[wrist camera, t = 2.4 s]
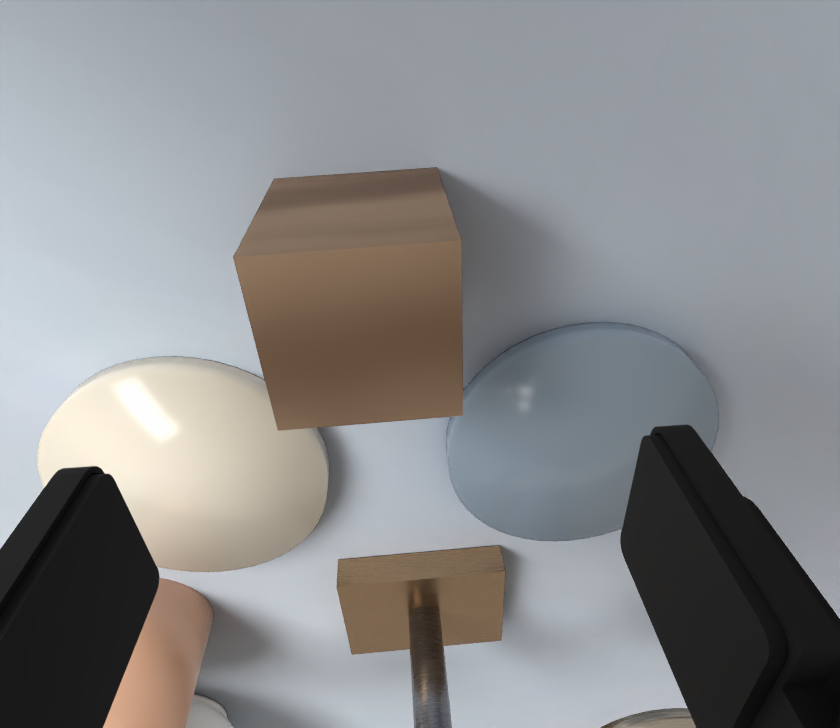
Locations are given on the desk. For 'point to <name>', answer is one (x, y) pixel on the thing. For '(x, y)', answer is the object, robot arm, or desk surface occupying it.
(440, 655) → the balance
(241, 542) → the cream dome
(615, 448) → the blue-grey round disc
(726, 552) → the robot arm
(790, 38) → the desk surface
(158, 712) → the peach rounded cylinder
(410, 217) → the walnut block
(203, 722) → the lidded jar
